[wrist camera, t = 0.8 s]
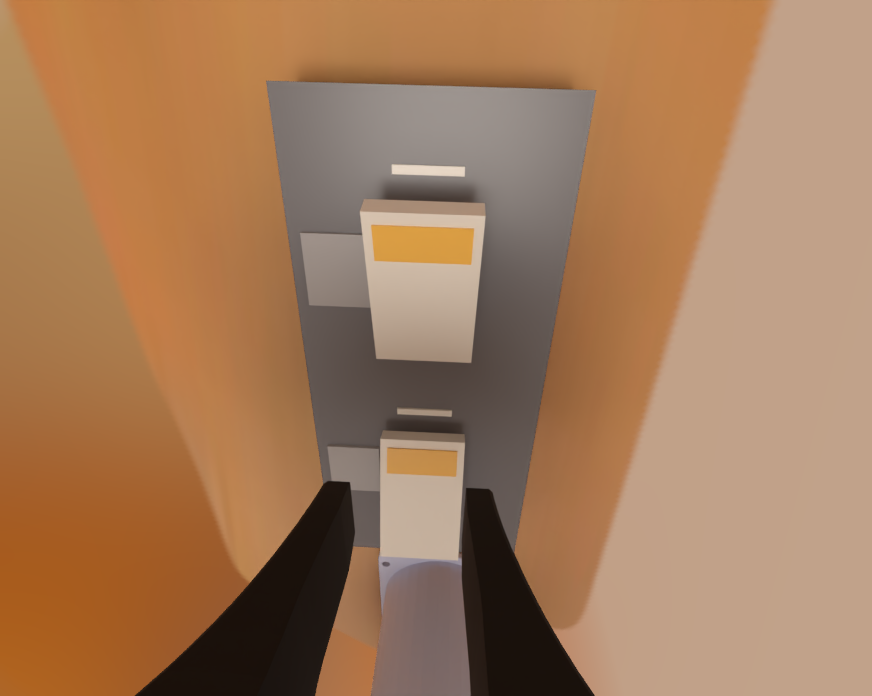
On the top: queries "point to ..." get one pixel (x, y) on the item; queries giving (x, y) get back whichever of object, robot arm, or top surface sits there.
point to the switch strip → (499, 274)
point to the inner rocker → (420, 494)
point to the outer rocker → (423, 277)
